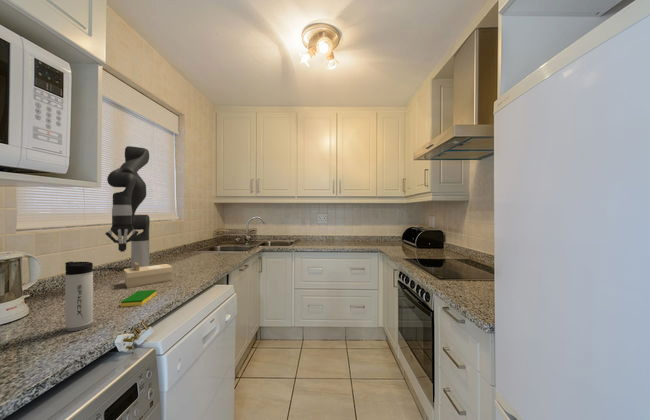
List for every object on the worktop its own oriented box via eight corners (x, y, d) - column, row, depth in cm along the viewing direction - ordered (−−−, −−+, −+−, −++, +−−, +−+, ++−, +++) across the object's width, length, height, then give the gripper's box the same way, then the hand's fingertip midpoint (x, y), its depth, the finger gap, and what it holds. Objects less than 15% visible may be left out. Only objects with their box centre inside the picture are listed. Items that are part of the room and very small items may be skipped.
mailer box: (124, 283, 130) (124, 271, 130) (166, 277, 143) (166, 266, 143) (127, 288, 123) (127, 275, 123) (171, 280, 135) (171, 269, 135)
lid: (123, 274, 131) (123, 263, 131) (166, 268, 144) (166, 258, 144) (127, 278, 122) (127, 266, 122) (172, 271, 135) (172, 261, 135)
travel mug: (76, 323, 84) (75, 260, 84) (98, 322, 85) (98, 259, 85) (58, 332, 78) (57, 264, 78) (82, 331, 79) (81, 263, 79)
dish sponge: (120, 308, 99) (120, 301, 99) (137, 296, 112) (137, 290, 112) (142, 306, 100) (141, 300, 100) (156, 295, 114) (156, 289, 114)
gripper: (137, 214, 133) (137, 249, 133) (103, 214, 124) (103, 252, 124) (140, 214, 128) (140, 250, 128) (104, 214, 119) (104, 253, 118)
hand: (122, 251), depth 126 cm, fingers closed
